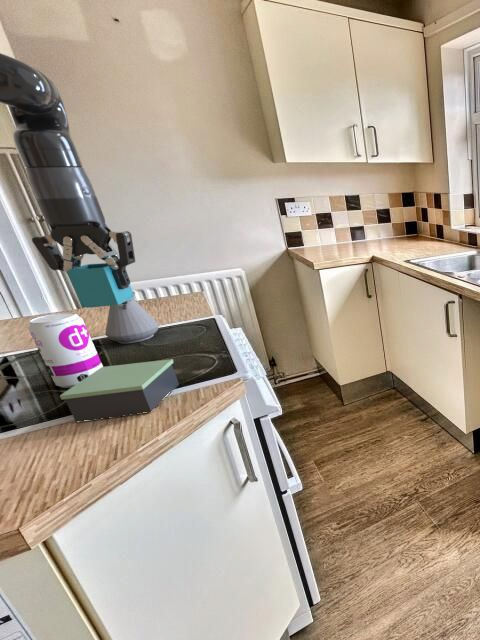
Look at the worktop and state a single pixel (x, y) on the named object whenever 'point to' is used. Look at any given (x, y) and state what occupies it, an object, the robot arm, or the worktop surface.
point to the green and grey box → (121, 390)
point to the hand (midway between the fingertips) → (104, 289)
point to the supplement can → (65, 347)
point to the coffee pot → (129, 323)
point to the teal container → (97, 286)
